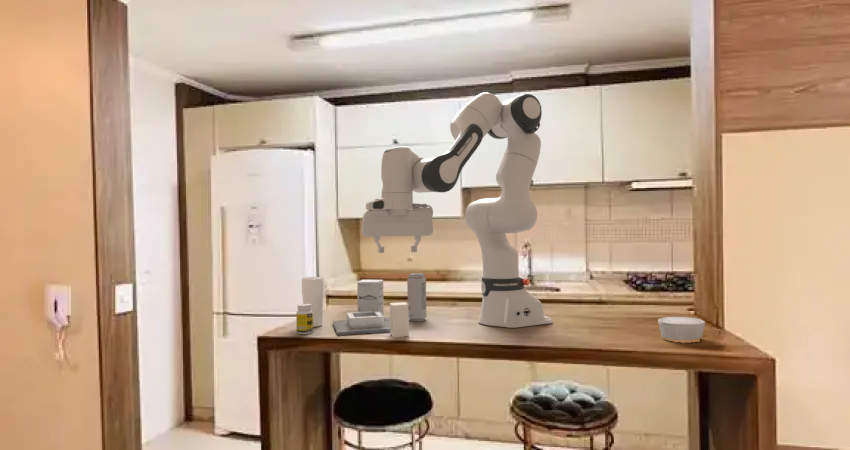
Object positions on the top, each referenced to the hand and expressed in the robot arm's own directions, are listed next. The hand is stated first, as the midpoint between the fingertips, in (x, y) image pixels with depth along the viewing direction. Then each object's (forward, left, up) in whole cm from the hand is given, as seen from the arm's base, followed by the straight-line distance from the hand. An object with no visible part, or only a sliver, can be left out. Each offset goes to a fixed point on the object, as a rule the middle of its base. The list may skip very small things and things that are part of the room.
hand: (397, 252), depth 160 cm
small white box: (0, 0, -24) cm, 24 cm away
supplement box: (+4, -29, -24) cm, 38 cm away
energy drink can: (-10, -21, -24) cm, 33 cm away
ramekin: (-70, +29, -24) cm, 80 cm away
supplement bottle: (+26, -12, -24) cm, 37 cm away
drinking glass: (+23, -22, -24) cm, 40 cm away
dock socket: (+8, -14, -24) cm, 29 cm away
